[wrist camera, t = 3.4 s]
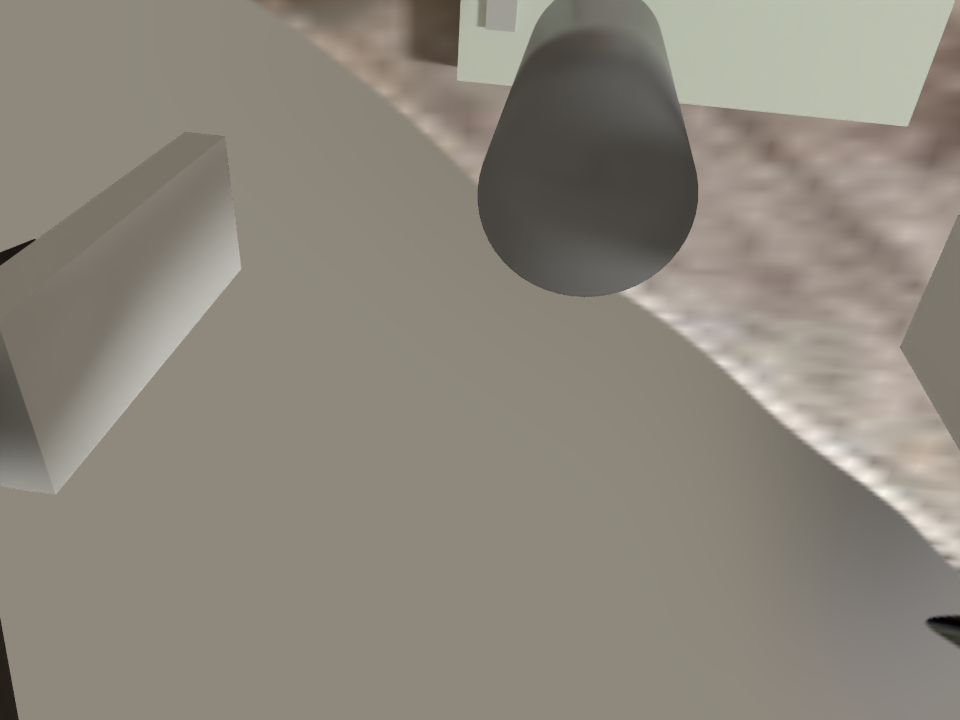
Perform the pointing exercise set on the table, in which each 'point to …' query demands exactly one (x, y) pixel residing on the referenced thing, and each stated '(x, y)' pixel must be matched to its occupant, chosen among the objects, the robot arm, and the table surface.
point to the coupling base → (753, 52)
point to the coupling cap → (590, 154)
